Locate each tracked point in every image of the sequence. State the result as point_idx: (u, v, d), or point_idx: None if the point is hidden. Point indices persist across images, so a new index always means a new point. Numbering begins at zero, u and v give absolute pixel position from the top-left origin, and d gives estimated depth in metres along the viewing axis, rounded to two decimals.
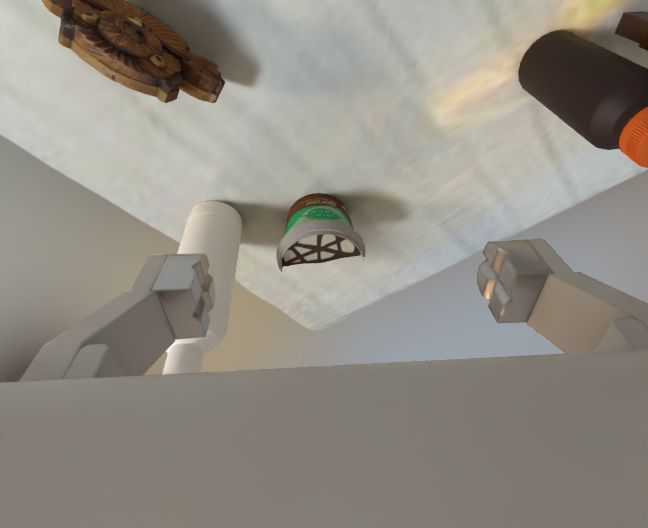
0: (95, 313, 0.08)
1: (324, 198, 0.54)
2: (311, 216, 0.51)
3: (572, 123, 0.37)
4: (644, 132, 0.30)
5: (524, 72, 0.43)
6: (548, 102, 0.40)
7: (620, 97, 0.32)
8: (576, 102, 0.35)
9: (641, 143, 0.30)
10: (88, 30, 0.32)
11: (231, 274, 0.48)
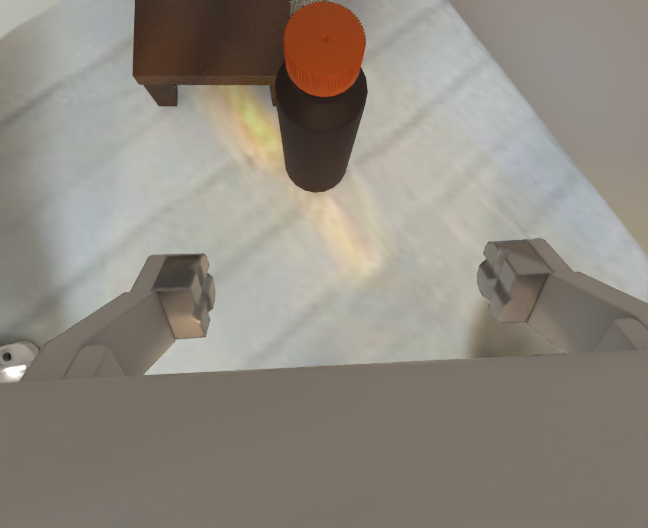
0: (95, 313, 0.08)
1: None
2: None
3: (343, 141, 0.30)
4: (313, 76, 0.22)
5: (320, 188, 0.40)
6: (335, 164, 0.35)
7: (295, 110, 0.26)
8: (317, 147, 0.30)
9: (327, 73, 0.22)
10: None
11: None
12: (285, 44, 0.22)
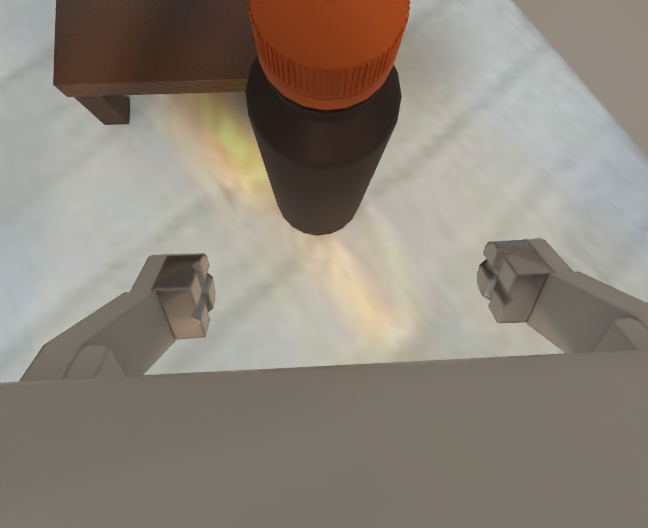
0: (95, 313, 0.08)
1: None
2: None
3: (361, 176, 0.19)
4: (309, 72, 0.11)
5: (325, 230, 0.29)
6: (348, 205, 0.23)
7: (281, 134, 0.15)
8: (320, 188, 0.19)
9: (336, 64, 0.11)
10: None
11: None
12: (251, 9, 0.11)
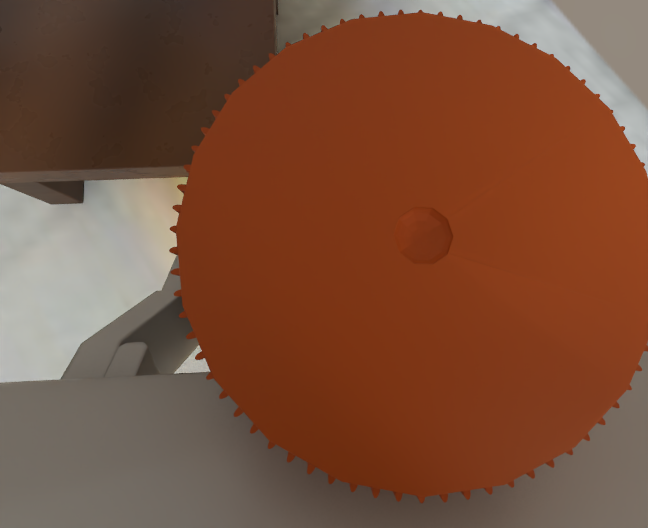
0: (129, 311, 0.08)
1: None
2: None
3: None
4: None
5: None
6: None
7: None
8: None
9: (452, 477, 0.03)
10: None
11: None
12: (181, 286, 0.04)
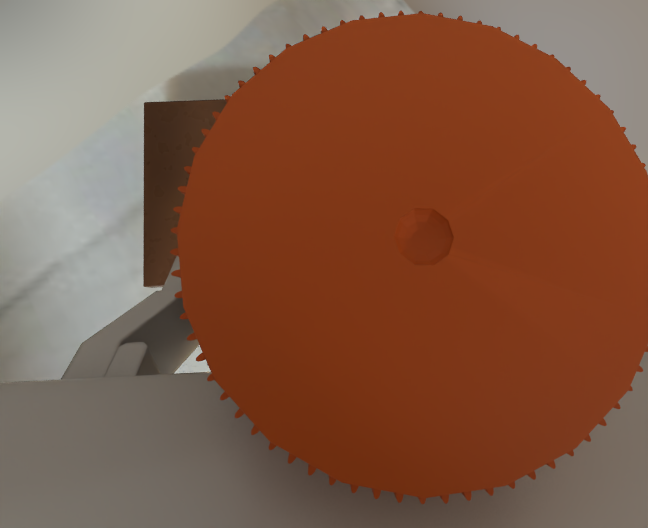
0: (129, 311, 0.08)
1: None
2: None
3: None
4: None
5: None
6: None
7: None
8: None
9: (453, 478, 0.03)
10: None
11: None
12: (182, 288, 0.04)
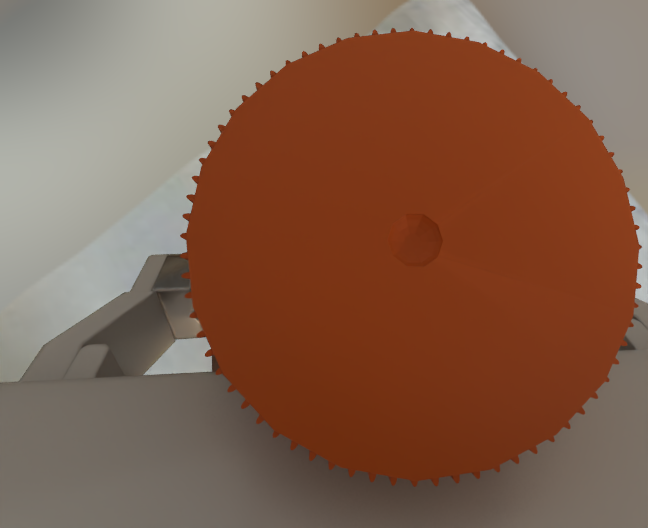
0: (95, 313, 0.08)
1: None
2: None
3: None
4: None
5: None
6: None
7: None
8: None
9: (443, 463, 0.04)
10: None
11: None
12: (191, 289, 0.04)
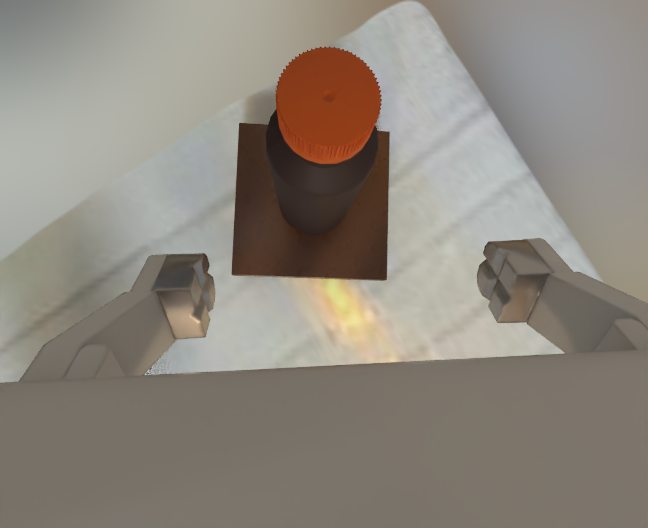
0: (95, 313, 0.08)
1: None
2: None
3: (346, 200, 0.25)
4: (312, 145, 0.17)
5: (317, 232, 0.35)
6: (336, 216, 0.30)
7: (289, 171, 0.22)
8: (315, 207, 0.25)
9: (330, 143, 0.17)
10: None
11: None
12: (277, 102, 0.17)
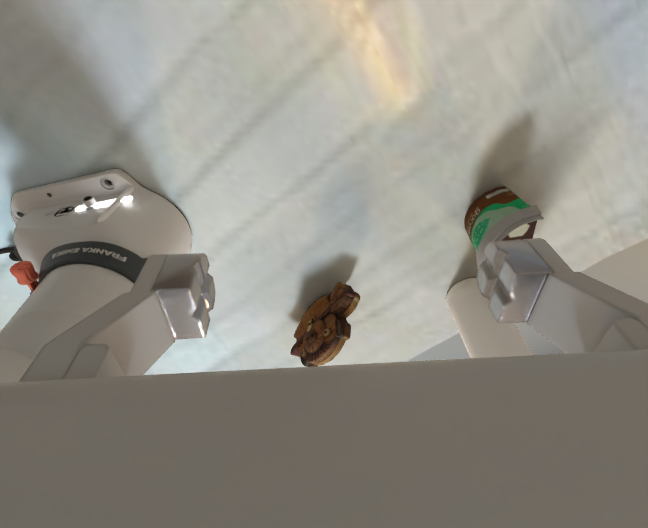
0: (95, 313, 0.08)
1: (470, 215, 0.53)
2: (476, 246, 0.51)
3: None
4: None
5: None
6: None
7: None
8: None
9: None
10: (308, 357, 0.58)
11: (500, 336, 0.52)
12: None
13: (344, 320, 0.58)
